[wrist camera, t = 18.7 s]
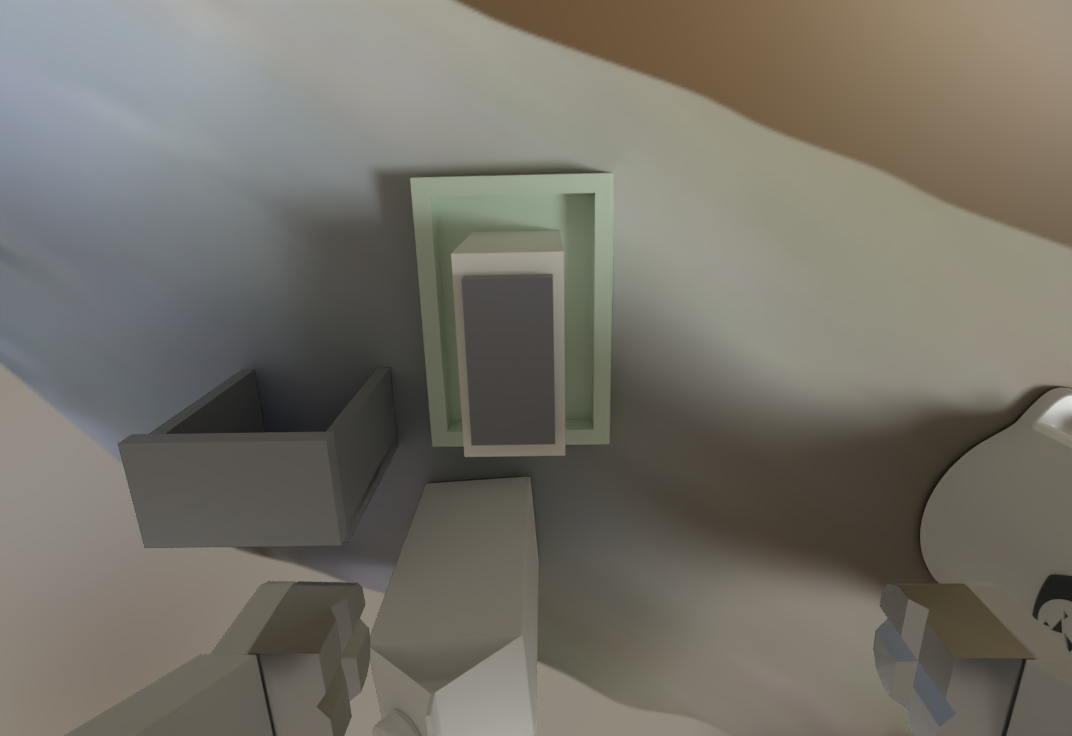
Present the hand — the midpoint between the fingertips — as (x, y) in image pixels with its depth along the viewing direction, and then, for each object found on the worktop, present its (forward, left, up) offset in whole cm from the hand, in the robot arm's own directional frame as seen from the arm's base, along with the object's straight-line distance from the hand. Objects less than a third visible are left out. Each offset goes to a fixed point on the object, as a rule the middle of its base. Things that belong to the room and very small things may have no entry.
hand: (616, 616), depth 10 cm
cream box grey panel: (+3, +2, -29) cm, 29 cm away
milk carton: (+6, +17, -30) cm, 35 cm away
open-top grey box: (+16, +8, -29) cm, 34 cm away
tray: (+3, +2, -29) cm, 30 cm away
